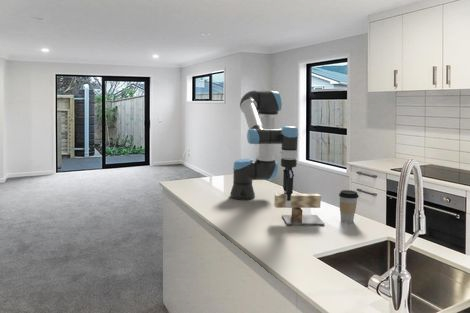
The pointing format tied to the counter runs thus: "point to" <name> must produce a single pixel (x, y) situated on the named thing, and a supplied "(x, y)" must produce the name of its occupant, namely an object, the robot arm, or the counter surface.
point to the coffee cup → (348, 205)
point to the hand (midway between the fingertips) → (287, 205)
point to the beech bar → (298, 201)
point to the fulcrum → (301, 219)
